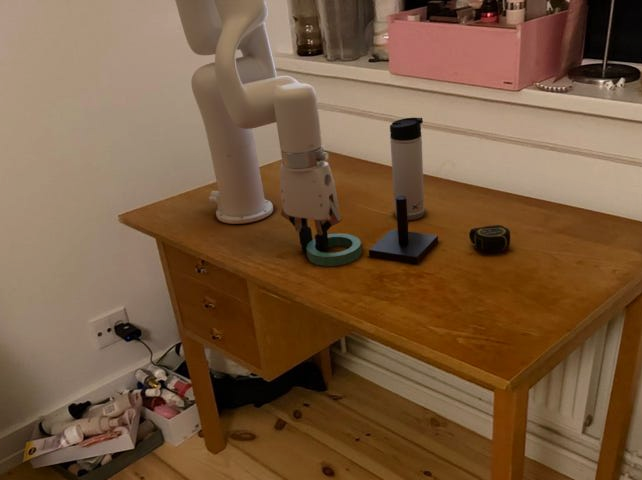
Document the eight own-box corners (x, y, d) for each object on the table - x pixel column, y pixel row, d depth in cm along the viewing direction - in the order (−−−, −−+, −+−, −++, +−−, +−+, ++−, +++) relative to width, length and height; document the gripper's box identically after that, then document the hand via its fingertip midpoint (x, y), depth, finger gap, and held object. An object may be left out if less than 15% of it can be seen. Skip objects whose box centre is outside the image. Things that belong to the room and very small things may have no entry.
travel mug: (423, 221, 146) (419, 123, 135) (392, 220, 147) (386, 123, 136) (428, 209, 151) (424, 114, 140) (398, 209, 152) (392, 115, 141)
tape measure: (503, 239, 136) (503, 220, 134) (514, 253, 130) (515, 234, 128) (468, 243, 135) (468, 225, 133) (479, 258, 130) (479, 239, 128)
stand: (369, 257, 134) (364, 204, 128) (392, 236, 141) (388, 185, 135) (417, 264, 130) (414, 210, 124) (438, 242, 137) (436, 190, 131)
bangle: (297, 261, 134) (296, 252, 133) (325, 239, 142) (324, 230, 140) (345, 269, 130) (344, 259, 129) (371, 246, 137) (370, 237, 136)
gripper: (351, 154, 127) (360, 247, 137) (276, 147, 133) (290, 237, 143) (331, 167, 121) (341, 264, 131) (254, 160, 128) (270, 252, 138)
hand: (315, 249), depth 137 cm, fingers closed
